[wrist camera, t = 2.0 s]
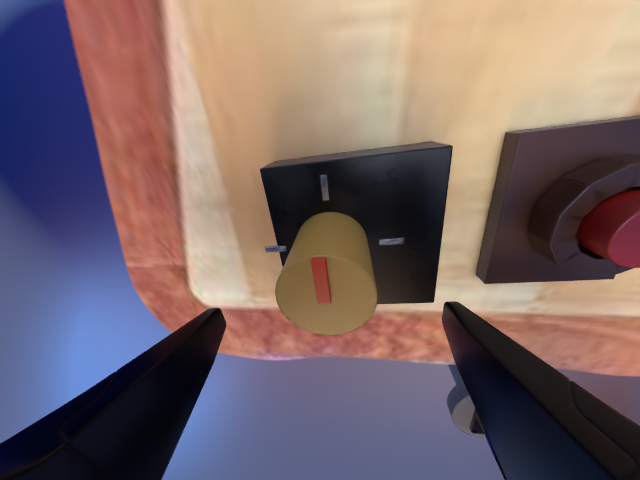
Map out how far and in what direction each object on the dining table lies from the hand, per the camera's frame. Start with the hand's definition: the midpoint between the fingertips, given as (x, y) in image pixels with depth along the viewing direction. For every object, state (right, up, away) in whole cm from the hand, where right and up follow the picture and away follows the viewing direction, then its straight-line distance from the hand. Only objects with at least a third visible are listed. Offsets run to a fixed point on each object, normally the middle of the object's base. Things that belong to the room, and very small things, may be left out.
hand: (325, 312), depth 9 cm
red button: (+16, +4, +3) cm, 17 cm away
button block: (+15, +5, +6) cm, 17 cm away
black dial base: (+2, +4, +8) cm, 9 cm away
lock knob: (+1, +3, +5) cm, 6 cm away
